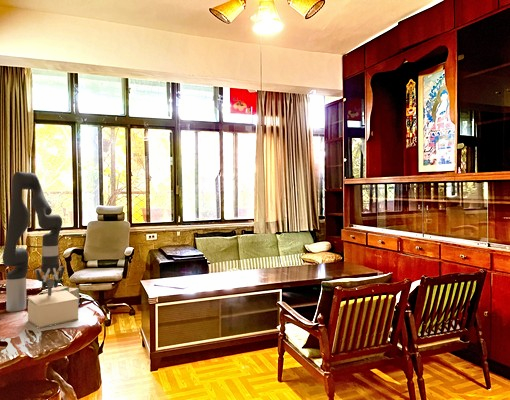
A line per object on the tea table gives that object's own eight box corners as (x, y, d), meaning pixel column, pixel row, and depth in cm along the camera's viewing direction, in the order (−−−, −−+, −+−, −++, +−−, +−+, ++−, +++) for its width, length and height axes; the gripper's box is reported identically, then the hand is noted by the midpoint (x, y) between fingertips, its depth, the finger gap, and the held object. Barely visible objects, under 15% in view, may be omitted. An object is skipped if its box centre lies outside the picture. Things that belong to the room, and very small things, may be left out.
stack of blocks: (69, 303, 224) (69, 282, 224) (79, 304, 223) (79, 282, 223) (43, 314, 203) (43, 291, 203) (54, 315, 202) (54, 291, 202)
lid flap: (27, 297, 192) (27, 280, 191) (66, 291, 205) (66, 274, 204) (38, 307, 181) (39, 288, 180) (78, 299, 194) (79, 282, 194)
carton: (27, 320, 192) (27, 300, 192) (65, 313, 205) (65, 294, 205) (39, 328, 181) (39, 307, 181) (78, 319, 194) (78, 299, 194)
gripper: (62, 252, 203) (61, 284, 204) (32, 255, 193) (31, 289, 193) (67, 253, 198) (67, 287, 199) (37, 256, 188) (37, 292, 188)
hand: (49, 288), depth 196 cm, fingers closed on lid flap, 4 cm apart
